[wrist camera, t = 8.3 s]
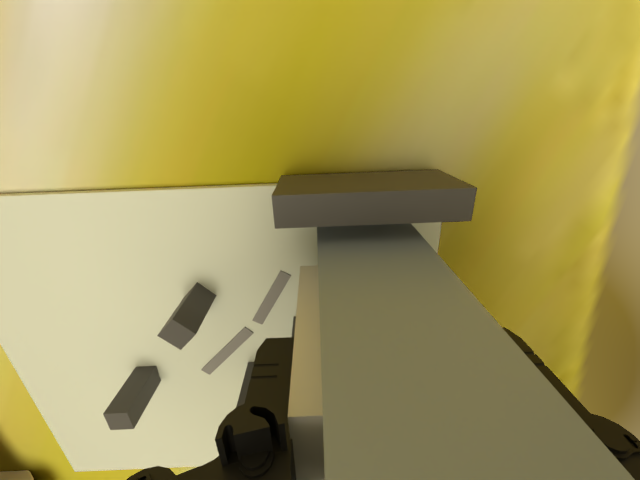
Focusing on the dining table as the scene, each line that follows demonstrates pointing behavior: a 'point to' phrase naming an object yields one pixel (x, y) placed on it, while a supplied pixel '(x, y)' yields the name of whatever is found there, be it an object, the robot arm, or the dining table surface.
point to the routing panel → (174, 298)
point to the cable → (16, 475)
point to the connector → (432, 375)
